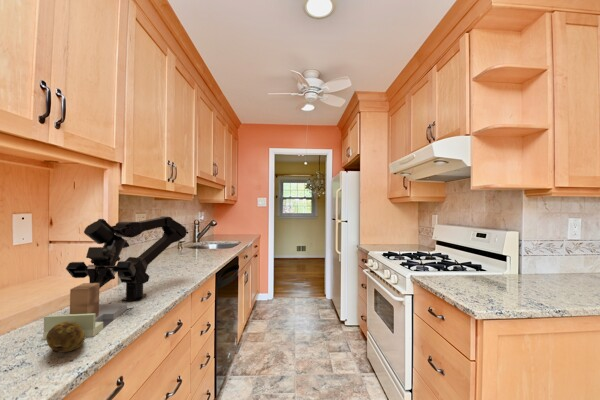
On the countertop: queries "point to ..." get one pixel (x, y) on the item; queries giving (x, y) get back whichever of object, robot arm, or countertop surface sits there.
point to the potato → (65, 337)
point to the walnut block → (85, 299)
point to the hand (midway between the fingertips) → (90, 293)
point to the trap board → (87, 319)
